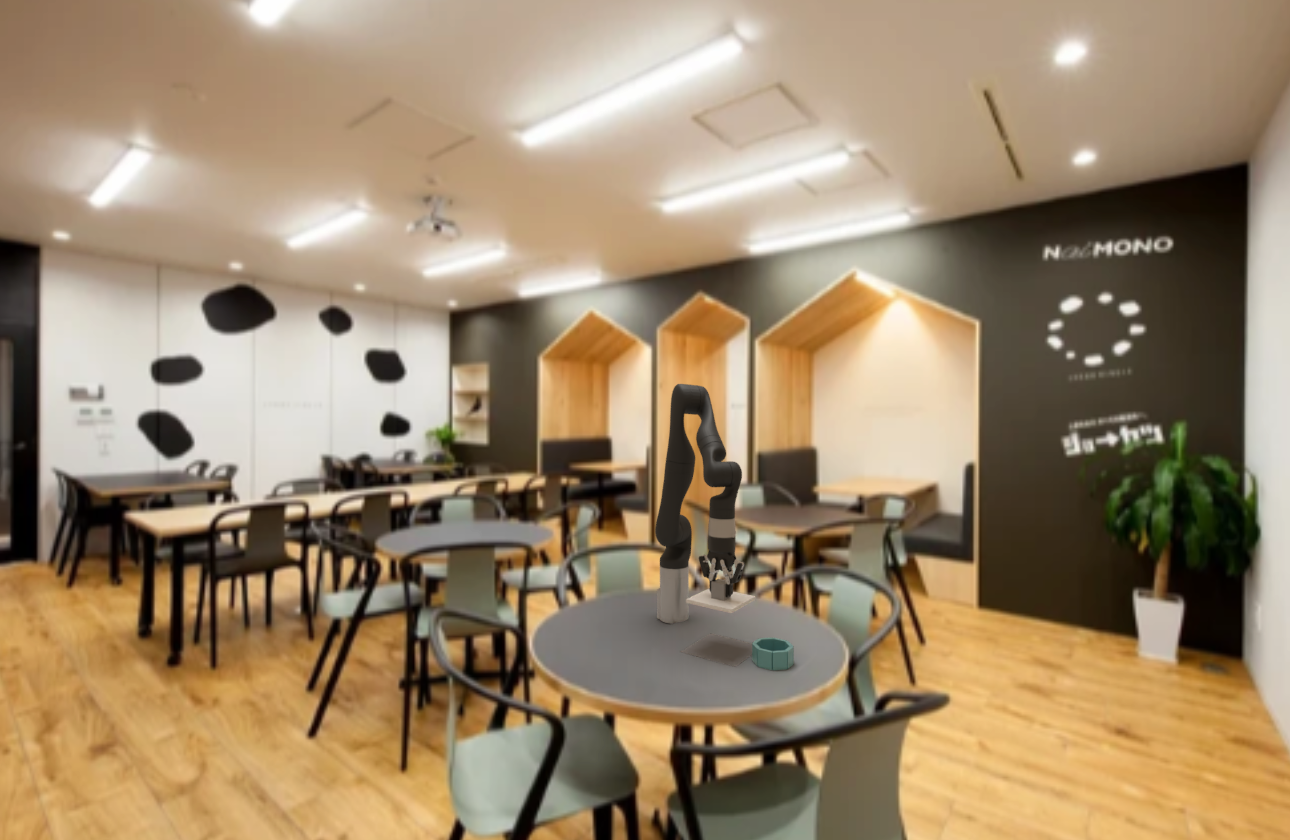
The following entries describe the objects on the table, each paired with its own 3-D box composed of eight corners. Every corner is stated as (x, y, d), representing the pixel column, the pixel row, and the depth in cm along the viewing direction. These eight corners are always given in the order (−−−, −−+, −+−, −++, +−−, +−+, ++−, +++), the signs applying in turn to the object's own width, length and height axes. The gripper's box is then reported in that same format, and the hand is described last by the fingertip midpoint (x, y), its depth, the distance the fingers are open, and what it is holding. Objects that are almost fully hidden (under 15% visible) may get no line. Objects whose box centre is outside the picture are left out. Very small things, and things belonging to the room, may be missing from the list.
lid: (686, 602, 167) (686, 582, 167) (711, 590, 179) (711, 571, 178) (731, 613, 159) (731, 592, 159) (755, 599, 170) (755, 580, 170)
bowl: (746, 665, 159) (746, 646, 159) (763, 653, 167) (763, 634, 167) (783, 675, 153) (783, 655, 153) (798, 661, 161) (798, 643, 161)
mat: (679, 653, 167) (679, 651, 167) (710, 634, 181) (710, 633, 181) (735, 668, 157) (735, 666, 157) (763, 647, 171) (763, 646, 171)
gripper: (692, 532, 169) (692, 593, 170) (738, 539, 161) (737, 603, 161) (706, 528, 175) (705, 587, 176) (751, 534, 167) (750, 596, 167)
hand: (721, 594), depth 169 cm, fingers closed on lid, 4 cm apart
